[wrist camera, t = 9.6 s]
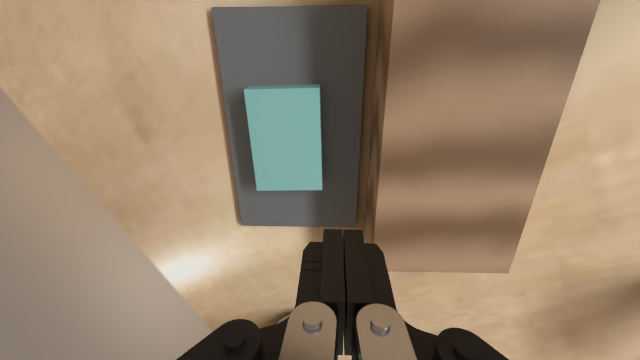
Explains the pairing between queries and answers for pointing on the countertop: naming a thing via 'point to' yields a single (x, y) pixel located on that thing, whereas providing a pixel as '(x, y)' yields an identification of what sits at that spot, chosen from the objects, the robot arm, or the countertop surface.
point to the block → (285, 136)
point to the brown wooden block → (465, 125)
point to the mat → (296, 69)
